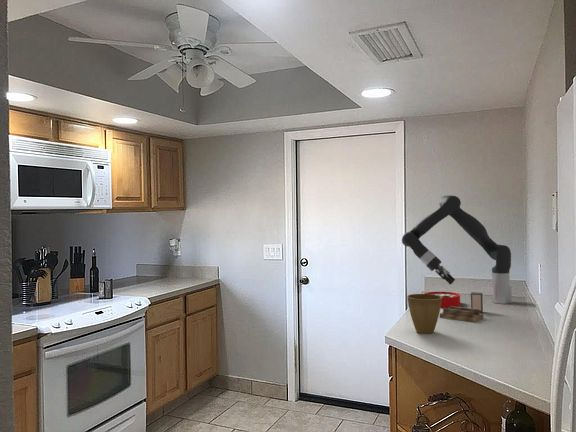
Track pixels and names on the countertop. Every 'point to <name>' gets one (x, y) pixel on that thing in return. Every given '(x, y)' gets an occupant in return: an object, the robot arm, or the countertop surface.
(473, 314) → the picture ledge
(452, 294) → the toy clock
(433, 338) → the countertop surface
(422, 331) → the plant pot
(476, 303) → the dark grey cuboid
